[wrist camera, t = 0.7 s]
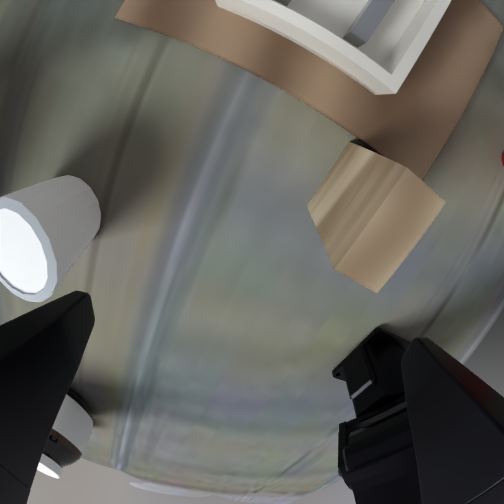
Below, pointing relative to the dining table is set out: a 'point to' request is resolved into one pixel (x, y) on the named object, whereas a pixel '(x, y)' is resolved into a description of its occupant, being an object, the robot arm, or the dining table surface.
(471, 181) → the dining table surface
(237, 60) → the brown slab
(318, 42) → the white rectangular tray
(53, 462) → the spread jar
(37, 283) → the white cup
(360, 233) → the tan cardboard-colored prism
